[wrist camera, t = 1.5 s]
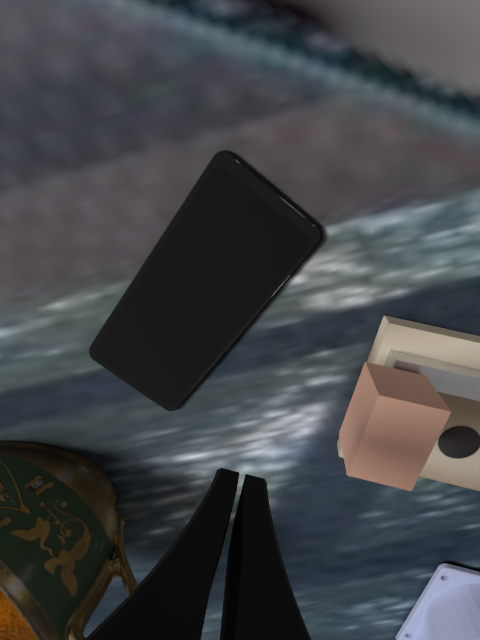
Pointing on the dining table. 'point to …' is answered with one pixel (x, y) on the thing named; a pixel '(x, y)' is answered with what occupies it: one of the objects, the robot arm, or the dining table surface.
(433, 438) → the brownish pink rectangular block
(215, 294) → the smartphone
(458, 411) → the hole plate
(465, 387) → the divider bar
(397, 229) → the dining table surface
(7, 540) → the cup
